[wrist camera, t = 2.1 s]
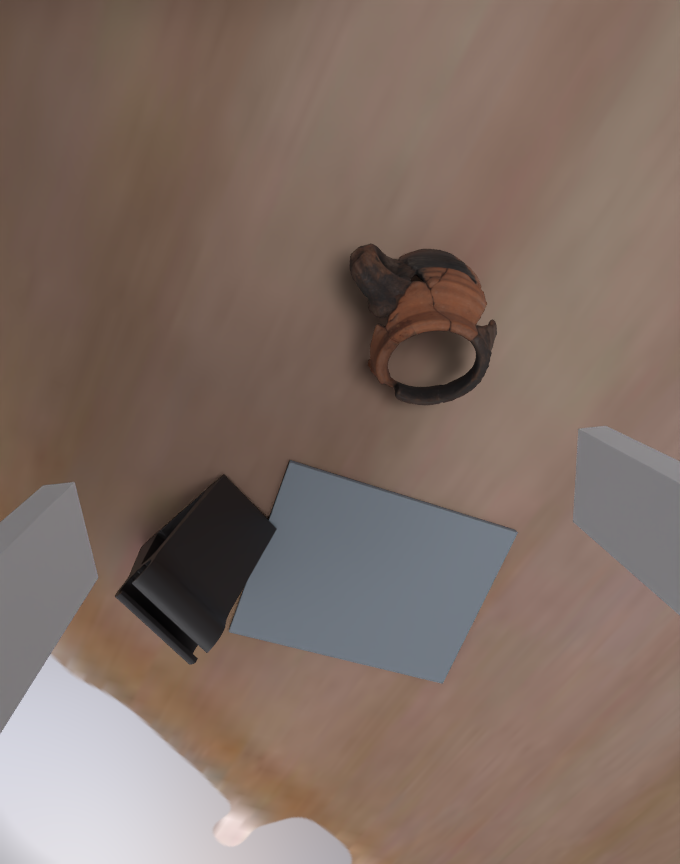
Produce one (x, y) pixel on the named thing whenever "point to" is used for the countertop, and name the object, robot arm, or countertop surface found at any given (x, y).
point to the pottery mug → (422, 312)
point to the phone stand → (197, 568)
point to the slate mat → (369, 575)
